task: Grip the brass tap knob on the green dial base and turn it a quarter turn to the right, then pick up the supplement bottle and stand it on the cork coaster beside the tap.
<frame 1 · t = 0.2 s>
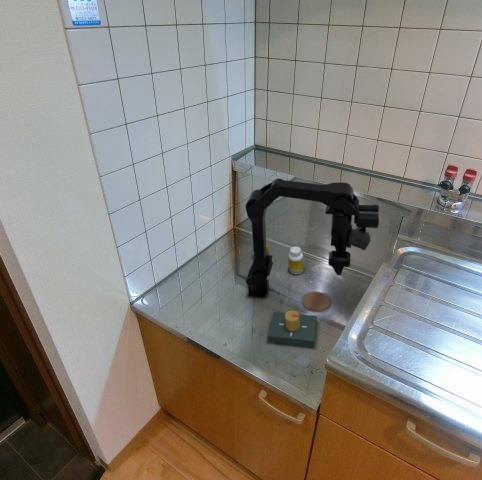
hand: (339, 265, 119), 15 cm above the table, tool pointing down, fingers open, 9 cm apart
tap knob: (292, 320, 114), point 5 cm above the table, hinge at 0.0°
coaster: (316, 302, 127), on the table
green dial base: (293, 332, 117), on the table
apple: (261, 256, 150), on the table
supplement bottle: (296, 270, 141), on the table
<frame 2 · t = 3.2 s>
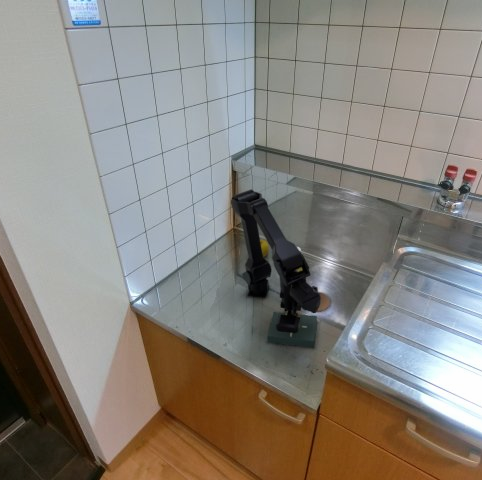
hand: (292, 324, 115), 4 cm above the table, tool pointing down, fingers closed on tap knob, 4 cm apart
tap knob: (292, 320, 114), point 5 cm above the table, hinge at 0.0°, touching gripper
everything else where it was.
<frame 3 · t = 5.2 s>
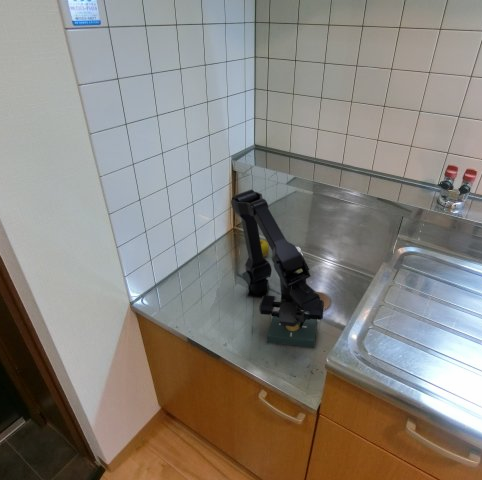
hand: (292, 325, 115), 3 cm above the table, tool pointing down, fingers open, 5 cm apart
tap knob: (292, 320, 114), point 5 cm above the table, hinge at -90.1°
everything else where it was.
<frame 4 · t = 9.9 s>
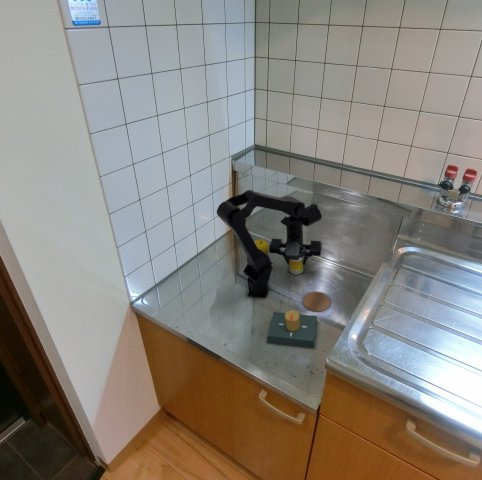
hand: (296, 264, 140), 3 cm above the table, tool pointing down, fingers closed on supplement bottle, 5 cm apart
supplement bottle: (296, 270, 141), on the table, touching gripper
everything else where it was.
when the fingers open (3 cm above the table, at t = 15.4 s): supplement bottle stays where it is, resting on coaster.
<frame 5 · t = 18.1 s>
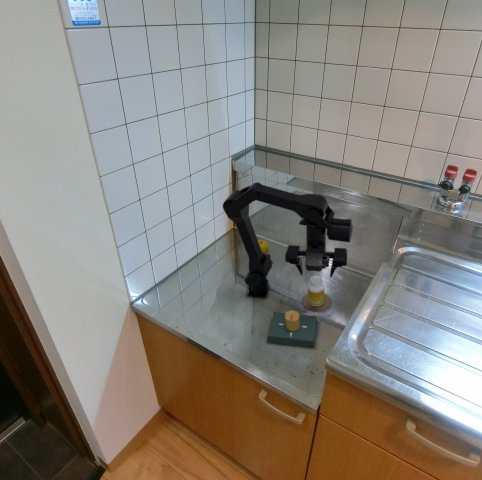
hand: (316, 275, 120), 12 cm above the table, tool pointing down, fingers open, 9 cm apart
supplement bottle: (316, 301, 127), resting on coaster
everything else where it was.
at the end: tap knob at -90° (first picture: +0°); supplement bottle 0.1 cm off-centre on the coaster, point 0.3 cm above the coaster's base; supplement bottle tilted 0° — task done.
